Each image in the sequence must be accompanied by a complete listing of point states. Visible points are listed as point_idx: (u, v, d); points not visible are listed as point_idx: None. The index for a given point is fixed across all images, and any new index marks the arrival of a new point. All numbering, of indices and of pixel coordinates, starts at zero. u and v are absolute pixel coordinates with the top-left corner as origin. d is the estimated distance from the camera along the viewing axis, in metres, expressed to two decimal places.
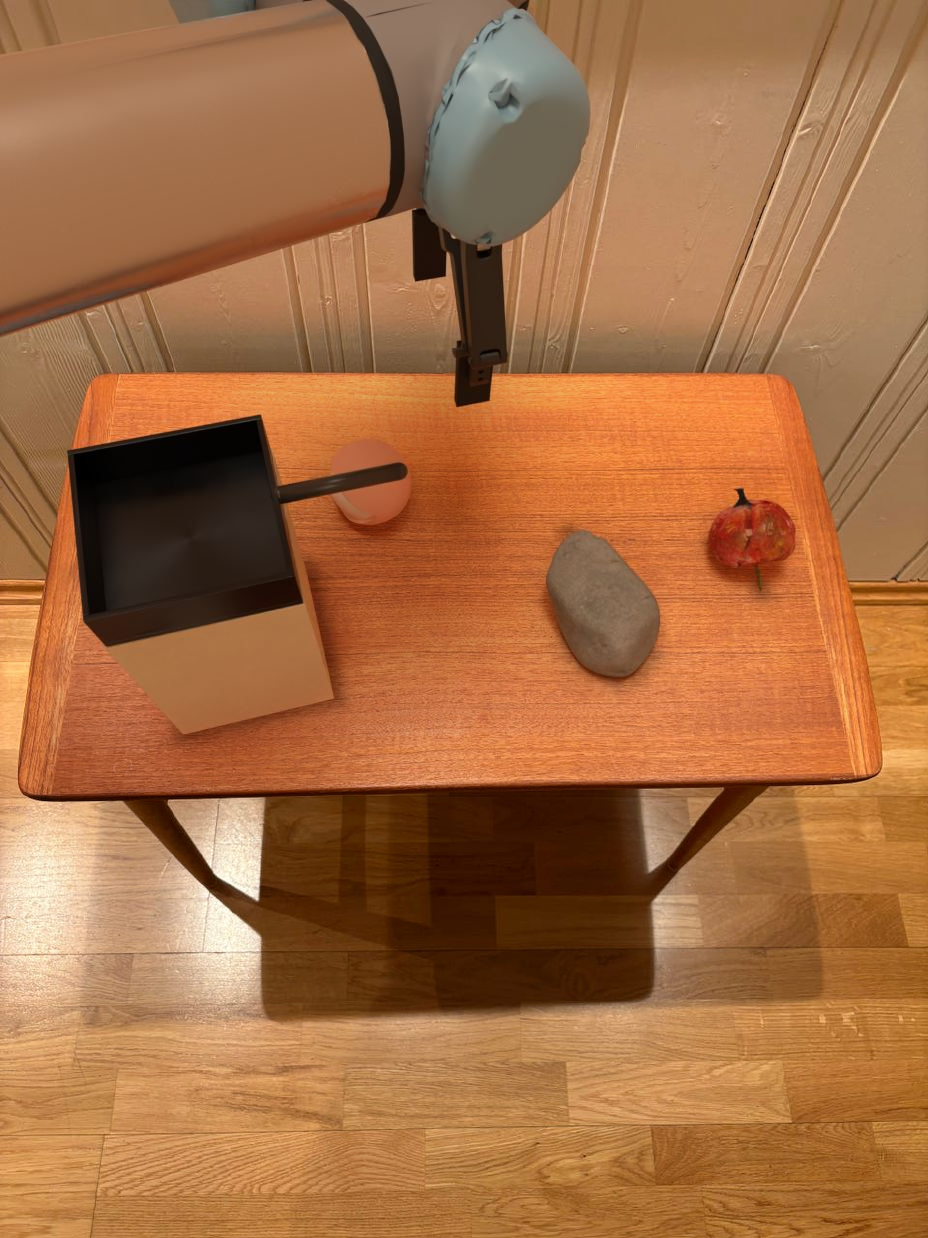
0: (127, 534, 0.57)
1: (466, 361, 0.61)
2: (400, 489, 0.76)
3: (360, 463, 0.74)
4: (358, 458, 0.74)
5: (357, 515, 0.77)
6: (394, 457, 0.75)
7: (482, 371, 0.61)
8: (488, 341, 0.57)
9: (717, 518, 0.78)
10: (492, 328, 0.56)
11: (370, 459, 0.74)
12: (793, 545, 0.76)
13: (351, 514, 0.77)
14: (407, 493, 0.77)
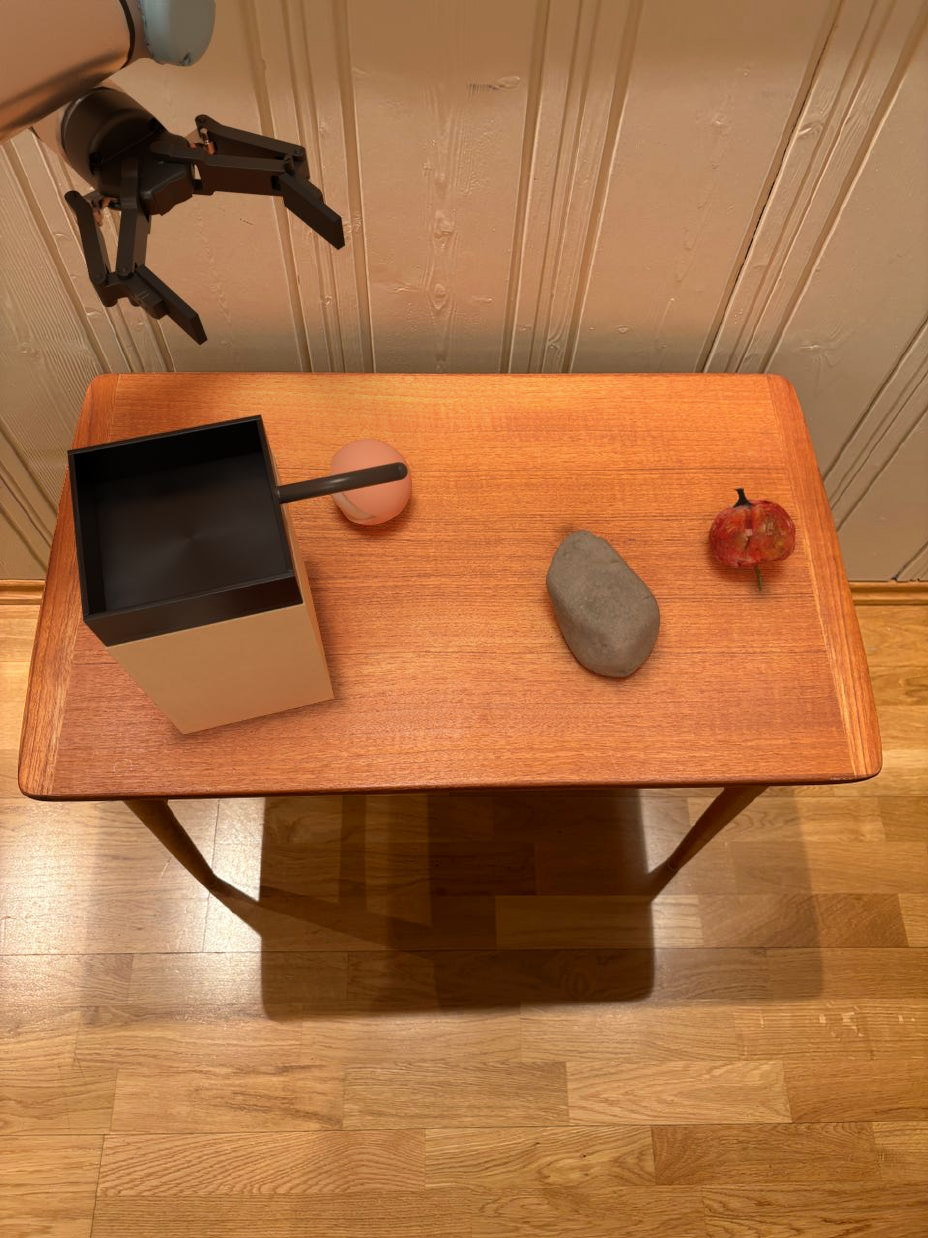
0: (127, 534, 0.57)
1: None
2: (400, 489, 0.76)
3: (360, 463, 0.74)
4: (358, 458, 0.74)
5: (357, 515, 0.77)
6: (394, 457, 0.75)
7: None
8: None
9: (717, 518, 0.78)
10: None
11: (370, 459, 0.74)
12: (793, 545, 0.76)
13: (351, 514, 0.77)
14: (407, 493, 0.77)
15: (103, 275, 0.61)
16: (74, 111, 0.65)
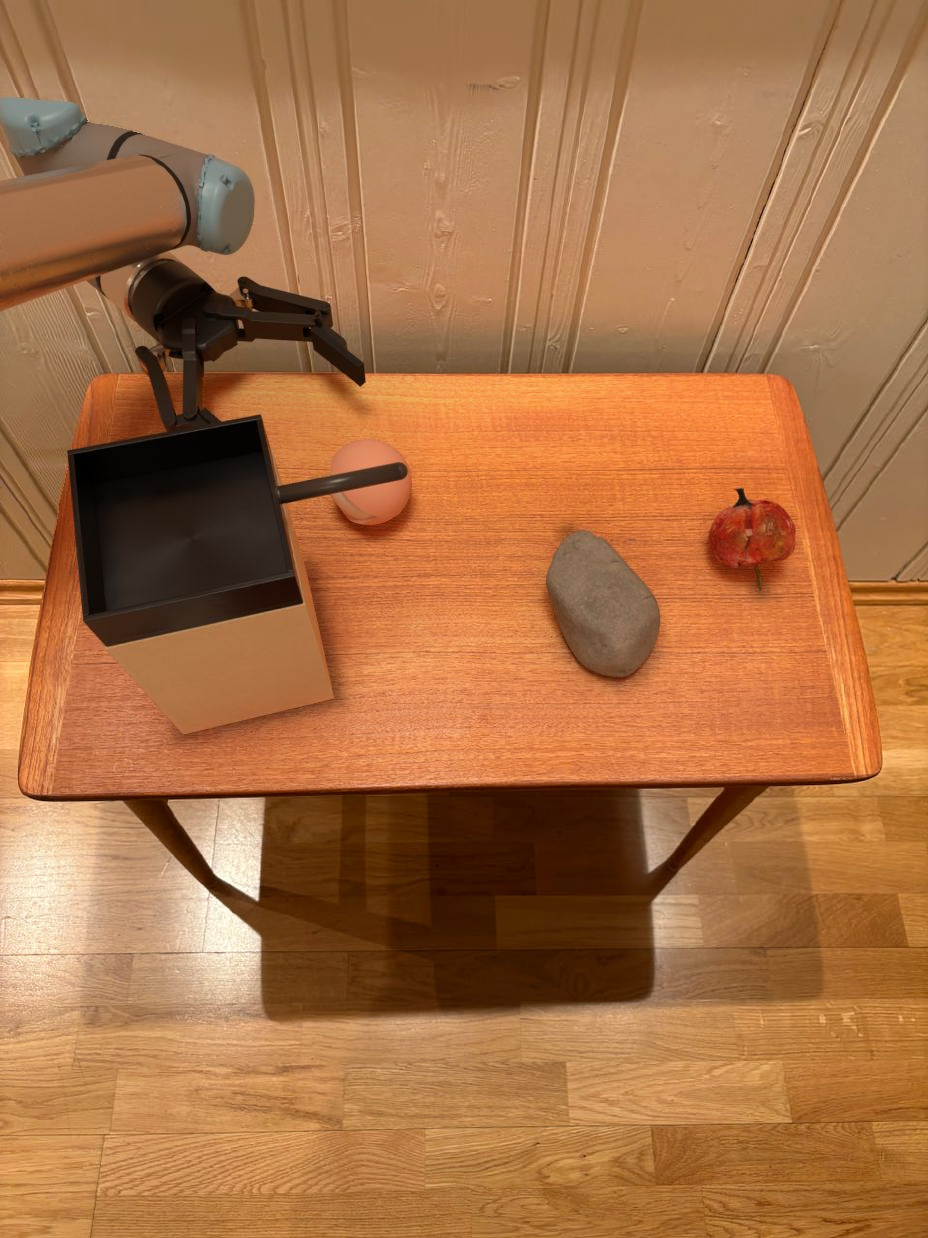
0: (127, 534, 0.57)
1: None
2: (400, 489, 0.76)
3: (360, 463, 0.74)
4: (358, 458, 0.74)
5: (357, 515, 0.77)
6: (394, 457, 0.75)
7: None
8: None
9: (717, 518, 0.78)
10: None
11: (370, 459, 0.74)
12: (793, 545, 0.76)
13: (351, 514, 0.77)
14: (407, 493, 0.77)
15: (173, 418, 0.75)
16: (141, 281, 0.79)
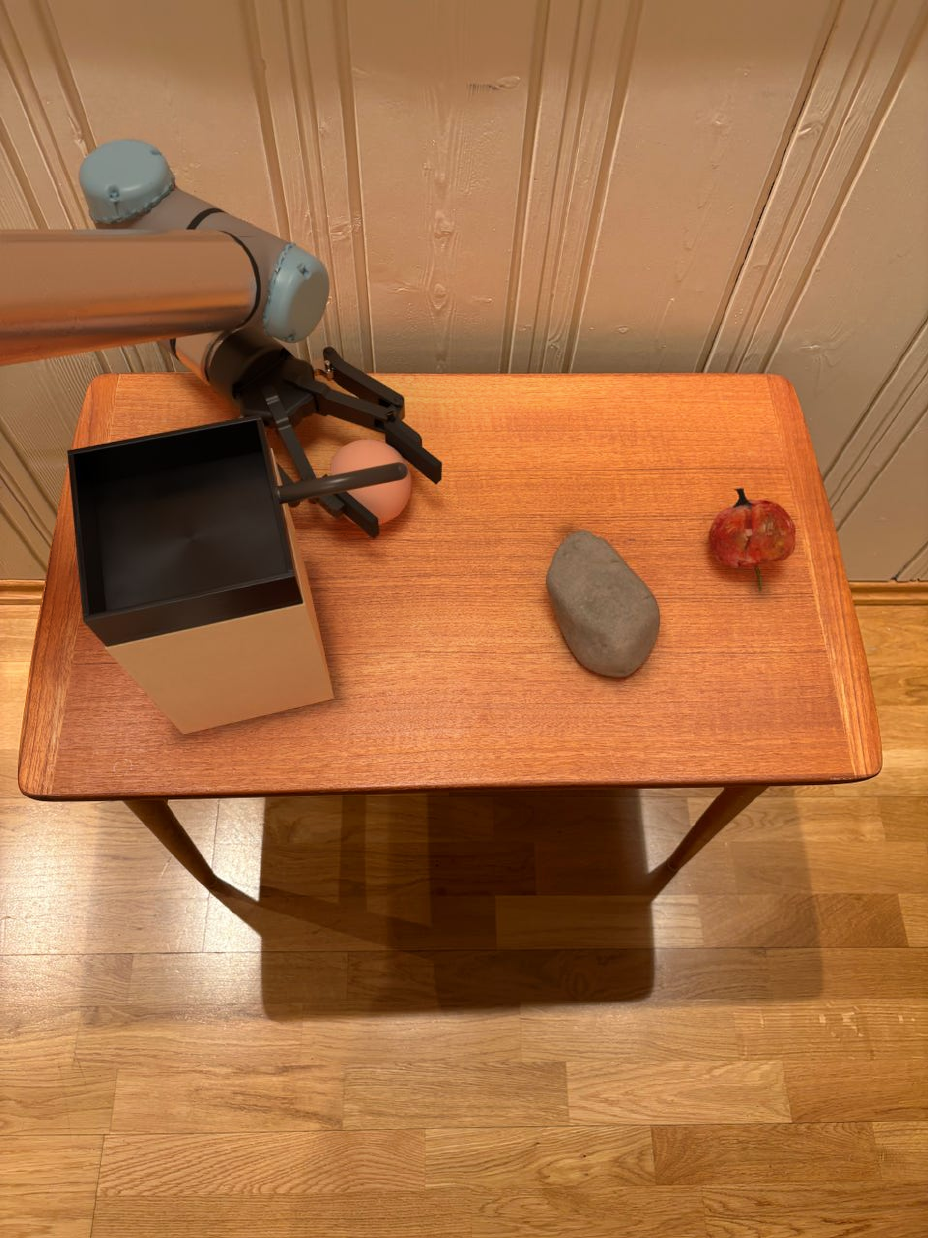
0: (127, 534, 0.57)
1: None
2: (399, 490, 0.75)
3: (359, 464, 0.74)
4: (357, 459, 0.74)
5: None
6: (393, 458, 0.75)
7: None
8: None
9: (717, 518, 0.78)
10: None
11: (369, 460, 0.74)
12: (793, 545, 0.76)
13: None
14: (407, 494, 0.77)
15: None
16: (219, 348, 0.77)
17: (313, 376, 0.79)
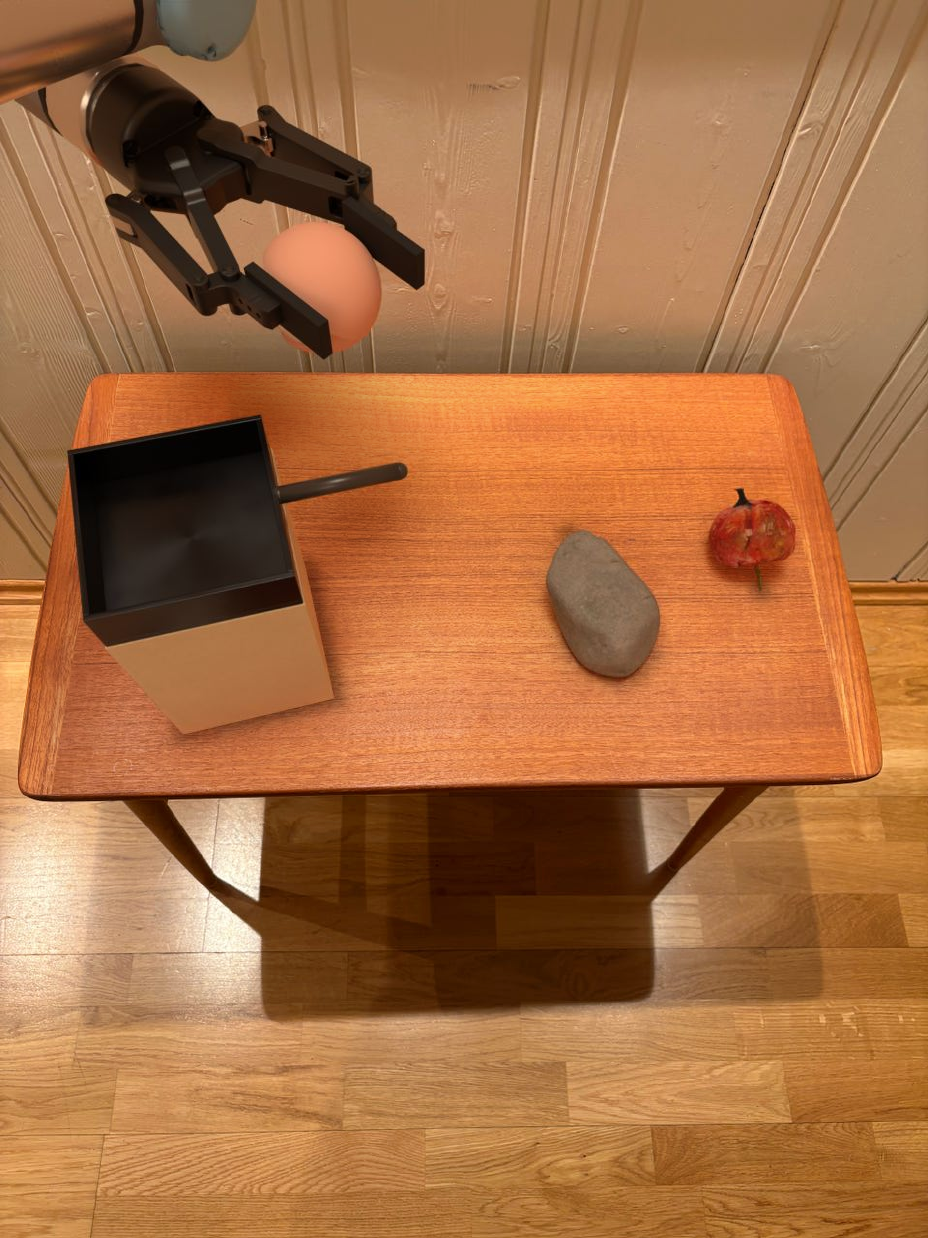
0: (127, 534, 0.57)
1: None
2: (363, 292, 0.52)
3: (303, 247, 0.50)
4: (300, 241, 0.50)
5: None
6: (354, 245, 0.52)
7: None
8: None
9: (717, 518, 0.78)
10: None
11: (318, 242, 0.50)
12: (793, 545, 0.76)
13: None
14: (374, 302, 0.53)
15: (204, 274, 0.50)
16: (104, 91, 0.53)
17: (242, 142, 0.55)
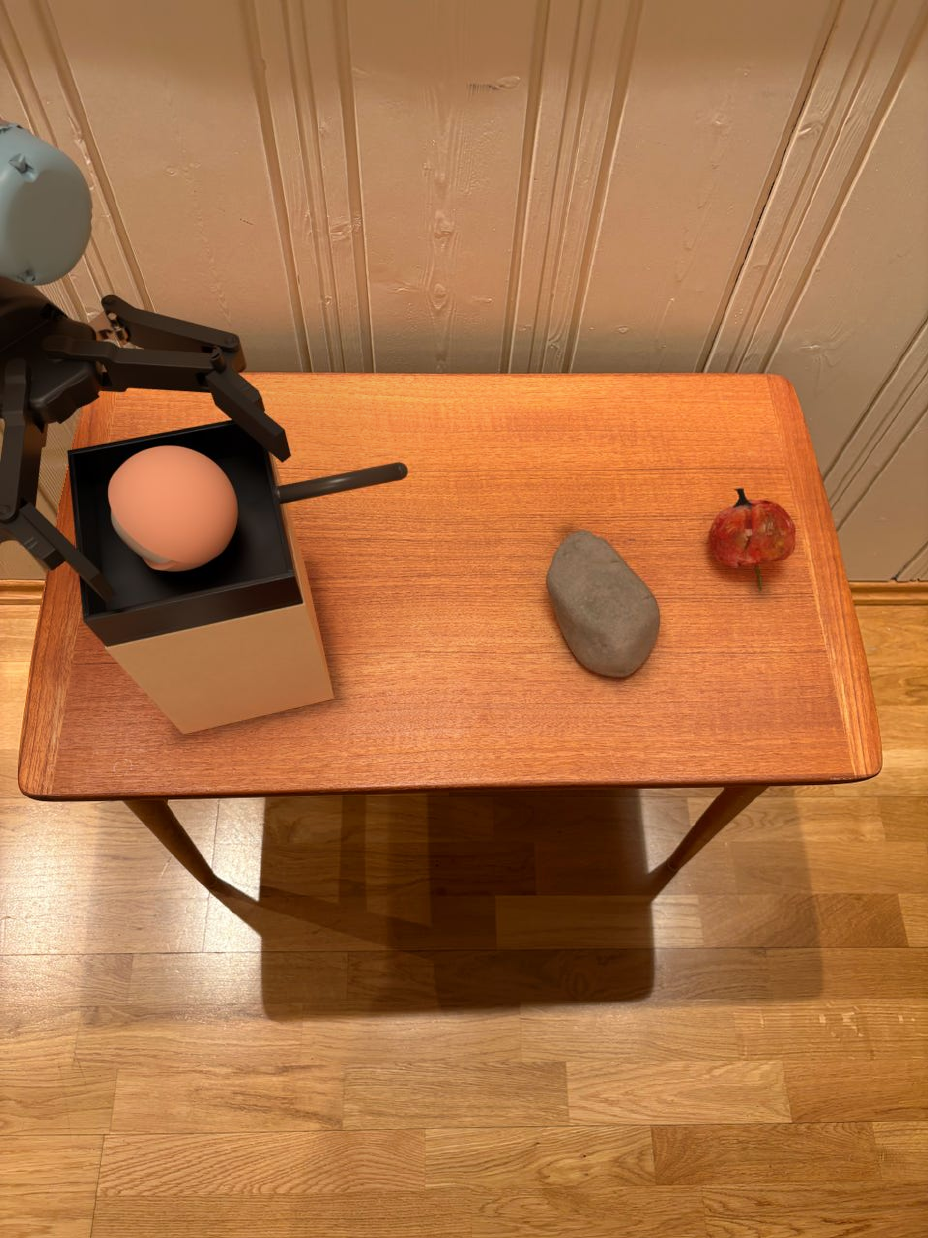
0: None
1: None
2: (211, 521, 0.51)
3: (145, 483, 0.49)
4: (143, 475, 0.50)
5: (151, 558, 0.52)
6: (201, 474, 0.51)
7: None
8: None
9: (717, 518, 0.78)
10: None
11: (160, 477, 0.50)
12: (793, 545, 0.76)
13: (143, 557, 0.52)
14: (226, 526, 0.52)
15: None
16: None
17: None
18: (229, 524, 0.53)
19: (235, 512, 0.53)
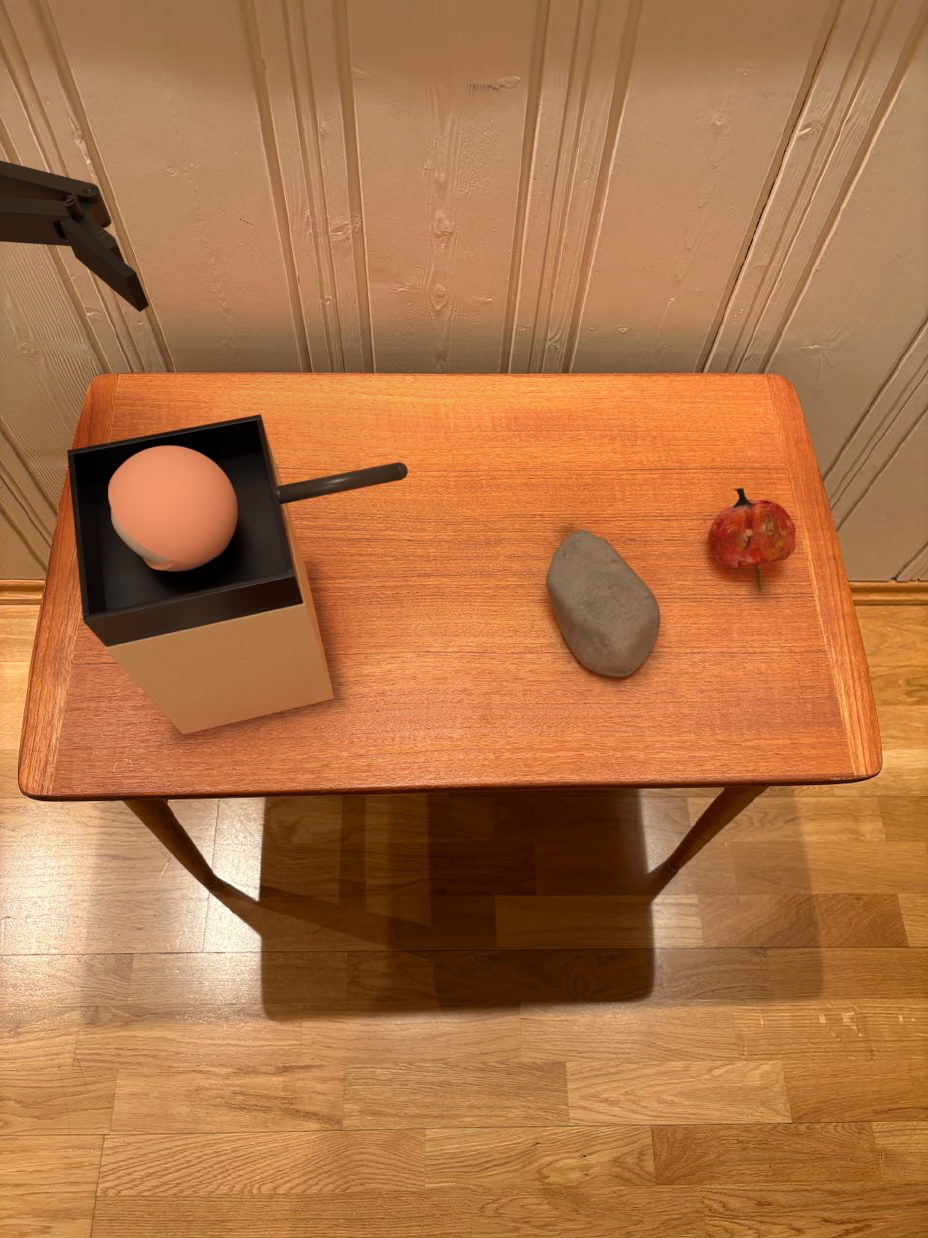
0: None
1: None
2: (211, 521, 0.51)
3: (145, 483, 0.49)
4: (143, 475, 0.50)
5: (151, 558, 0.52)
6: (201, 474, 0.51)
7: None
8: None
9: (717, 518, 0.78)
10: None
11: (161, 477, 0.50)
12: (793, 545, 0.76)
13: (143, 557, 0.52)
14: (226, 526, 0.52)
15: None
16: None
17: None
18: (229, 524, 0.53)
19: (235, 512, 0.53)
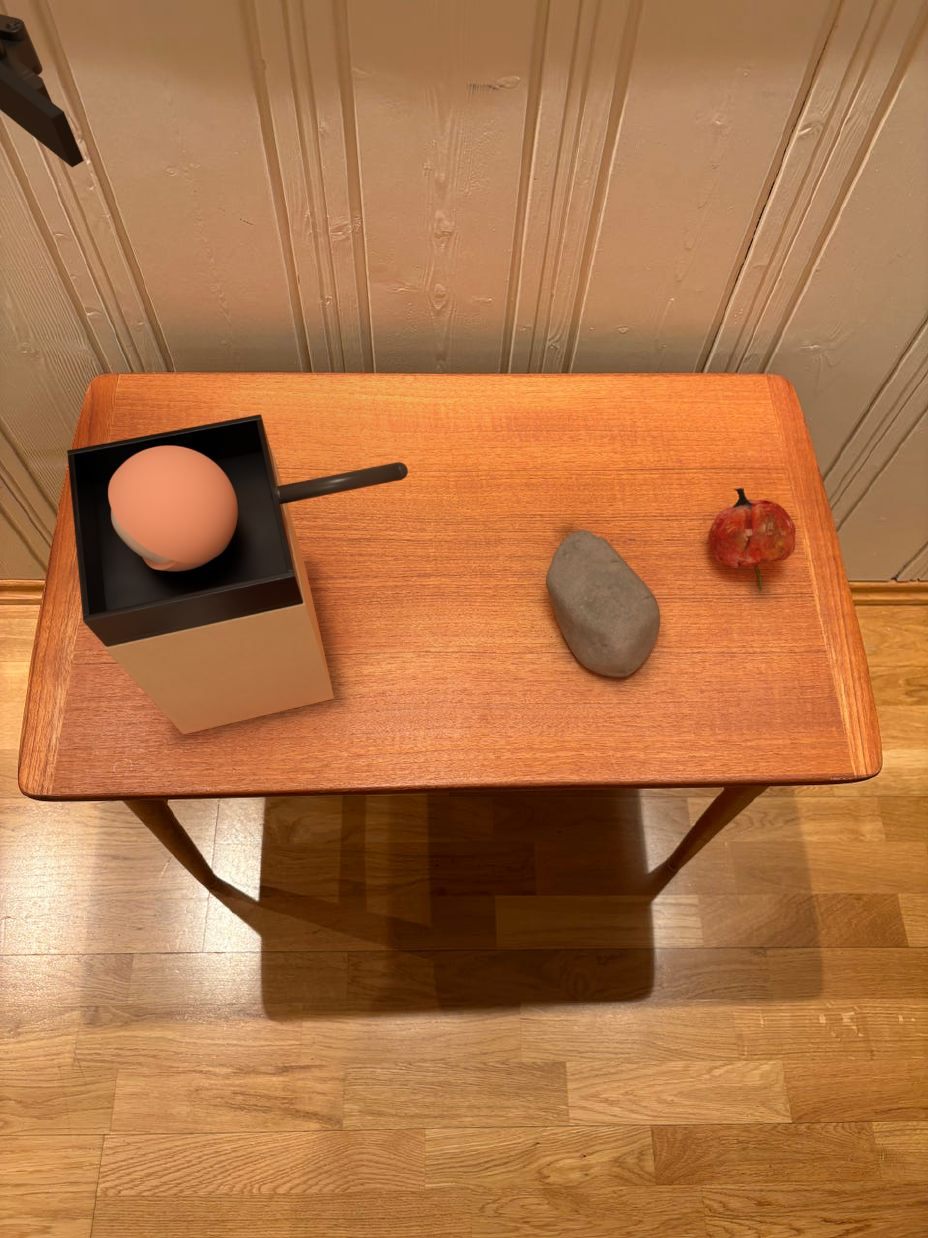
0: None
1: None
2: (211, 521, 0.51)
3: (145, 483, 0.49)
4: (143, 475, 0.50)
5: (151, 558, 0.52)
6: (201, 474, 0.51)
7: None
8: None
9: (717, 518, 0.78)
10: None
11: (161, 477, 0.50)
12: (793, 545, 0.76)
13: (143, 557, 0.52)
14: (226, 526, 0.52)
15: None
16: None
17: None
18: (229, 524, 0.53)
19: (235, 512, 0.53)
